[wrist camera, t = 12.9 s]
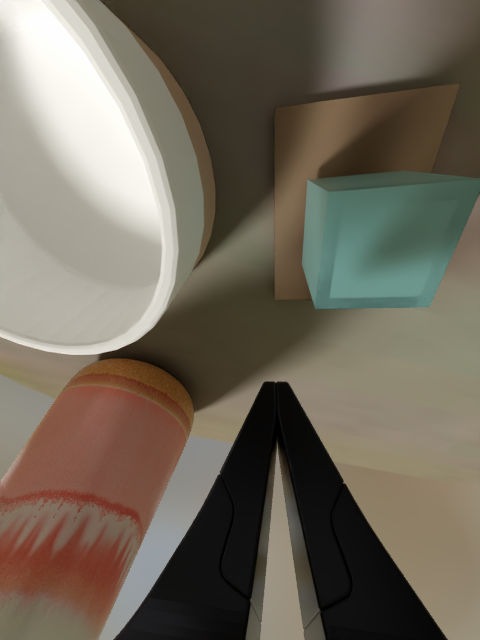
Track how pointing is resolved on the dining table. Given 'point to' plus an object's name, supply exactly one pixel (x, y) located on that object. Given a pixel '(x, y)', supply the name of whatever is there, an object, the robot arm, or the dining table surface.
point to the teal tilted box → (382, 237)
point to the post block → (347, 156)
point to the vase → (86, 497)
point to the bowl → (93, 180)
